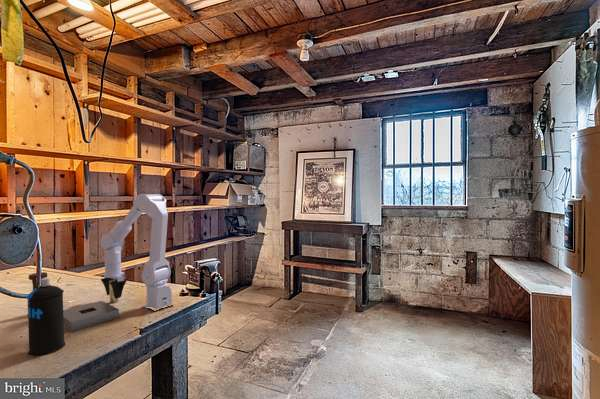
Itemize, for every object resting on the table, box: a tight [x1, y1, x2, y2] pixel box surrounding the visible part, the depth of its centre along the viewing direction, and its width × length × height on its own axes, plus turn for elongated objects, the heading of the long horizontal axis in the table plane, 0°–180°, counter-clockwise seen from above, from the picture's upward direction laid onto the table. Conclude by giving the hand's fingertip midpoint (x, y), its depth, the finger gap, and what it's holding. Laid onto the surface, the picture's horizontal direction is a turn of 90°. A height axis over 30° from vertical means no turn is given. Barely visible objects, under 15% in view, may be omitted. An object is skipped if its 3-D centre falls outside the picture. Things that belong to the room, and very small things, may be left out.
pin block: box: [63, 300, 120, 333], centre depth 109 cm, size 16×14×3 cm
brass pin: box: [109, 279, 119, 304], centre depth 127 cm, size 3×3×9 cm
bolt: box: [28, 271, 48, 291], centre depth 115 cm, size 6×5×15 cm
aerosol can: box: [26, 277, 66, 357], centre depth 87 cm, size 8×8×20 cm
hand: (113, 296), depth 127 cm, fingers open, 7 cm apart
